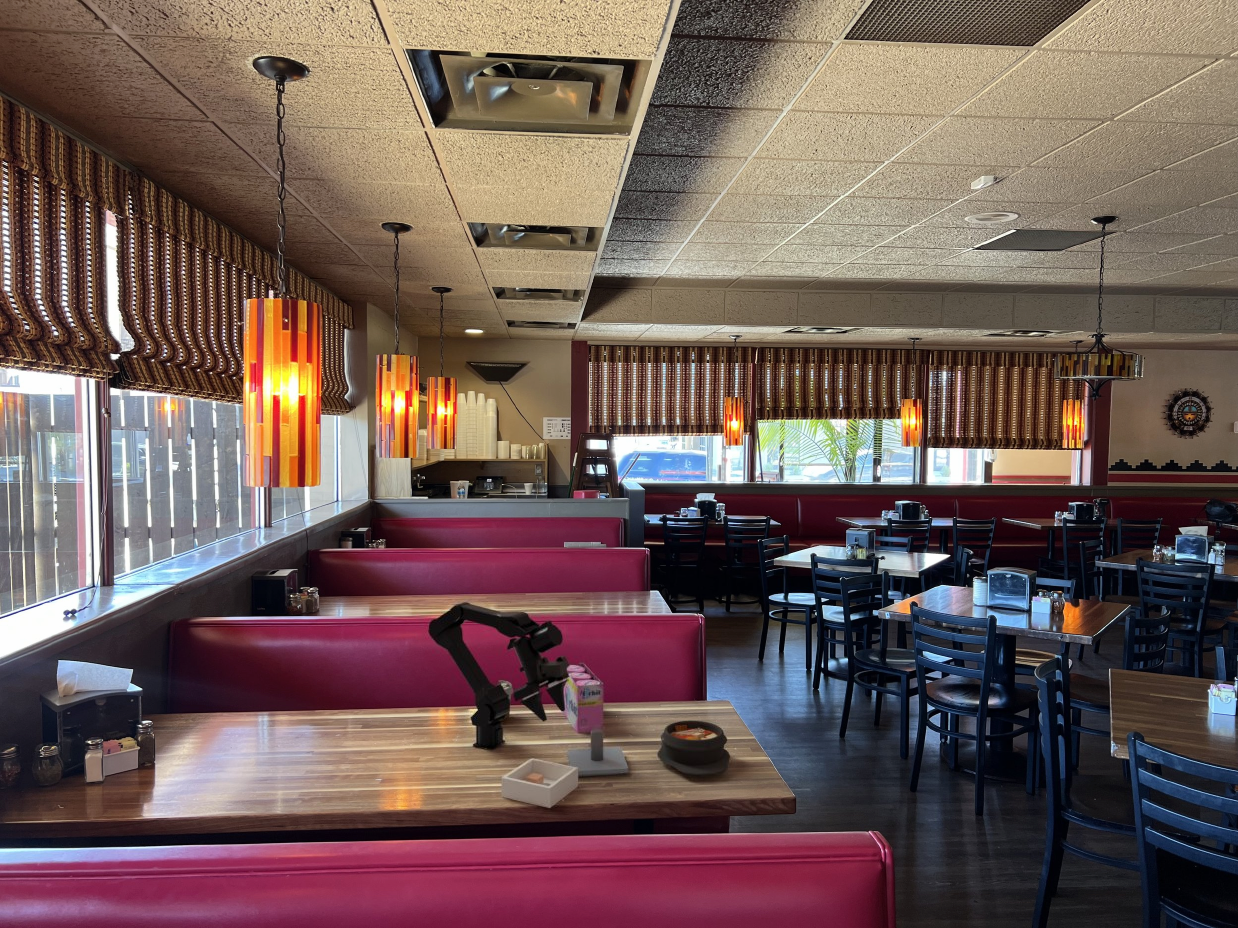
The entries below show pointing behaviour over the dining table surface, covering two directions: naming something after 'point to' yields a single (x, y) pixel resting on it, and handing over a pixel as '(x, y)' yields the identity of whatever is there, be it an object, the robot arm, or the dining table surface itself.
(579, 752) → the lid
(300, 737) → the dining table surface
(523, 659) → the robot arm
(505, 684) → the food container
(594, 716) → the gum box
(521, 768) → the crate
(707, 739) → the casserole
